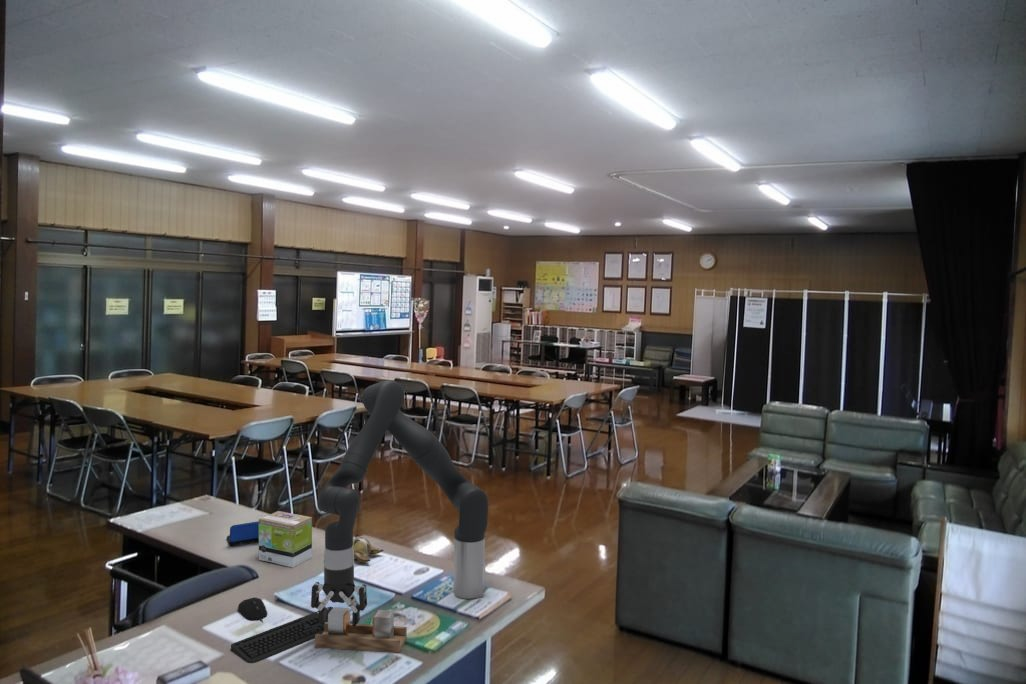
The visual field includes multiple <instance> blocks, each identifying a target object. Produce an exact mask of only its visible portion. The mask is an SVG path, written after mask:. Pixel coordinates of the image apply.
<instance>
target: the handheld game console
mask: <svg viewBox="0 0 1026 684" xmlns="http://www.w3.org/2000/svg"><path fill="white" fill-rule="evenodd" d="M226 540H227V543H228V546H229V547H235V546H241V545H248V544H251V543H253V544H254V543H259V520H257V521H252V522H245V523H240V524H239V523H237V524H234V525H233V524H232V525H231V526H230V527H229V535H227V536H226Z"/></svg>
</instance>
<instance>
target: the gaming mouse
mask: <svg viewBox="0 0 1026 684" xmlns="http://www.w3.org/2000/svg"><path fill="white" fill-rule="evenodd" d="M237 611H238V613H239V614H240V615H241V616H242V617H243V618H245V619H246V620H247V621H250V622H254V621H255V622H256V621H259V622H261V623H262V624H264V621H263V619H265V618H266V617H268V611H267V608H266V605H265V604H264V601H263V600H262V599H261V598H259V597H251V598H247V599H243V600H242V601H241V602H240V603H238V606H237Z"/></svg>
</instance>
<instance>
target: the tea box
mask: <svg viewBox="0 0 1026 684" xmlns="http://www.w3.org/2000/svg"><path fill="white" fill-rule="evenodd" d="M258 521H259V542H258V560H259V561H264V562H268V563H272V564H275V565H281V566H284V567H288V568H293V569H294V568H295V567H297V566H300V565H301V564H303V563H305V562H307V561H309V560H310V559H311V558H312V557H313V516H307V515H303V514H302V515H301V514H296V513H290V512H287V511H281V510H280V511H279V510H277V511H275V512H272V513H271V514H267V515H266V516H264V517H261V518H258Z"/></svg>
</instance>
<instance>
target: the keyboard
mask: <svg viewBox="0 0 1026 684" xmlns="http://www.w3.org/2000/svg"><path fill="white" fill-rule="evenodd" d="M333 608H334V606H327V607H326V622H328V614H329V612H330V611H331V610H332V609H333ZM351 621H352V620H350V623H352V622H351ZM324 624H325V623H324ZM324 624H321V622H319V611H318V610H316V611H315V612H311V613H309V614H306V615H304V616H301V617H299V618H296V619H294V620H292V621H288V622H286V623H283V624H281V625H278V626H275V627H273V628H272V627H271V628H270V629H268V630H265V631H262V632H258V633H257V634H254V635H252V636H249V637H247V638H244V639H241V640H238V641H236V642H232V643H231V644H230V651H232V652H233V653H234V654H235V655H237V656H238V657H240V658H241V659H242V660H244V661H245V662H246V663H247V664H255V663H256V664H257V663H258V662H261V661H263V660H267V659H268V658H269V659H270V658H271V657H274V656H276V655H278V654H281V653H283V652H285V651H288V650H290V649H292V648H295V647H297V646H300V645H303V644H305V643H307V642H310V641H312V640H315V635H316V634H322V633H323V632H324Z"/></svg>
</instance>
